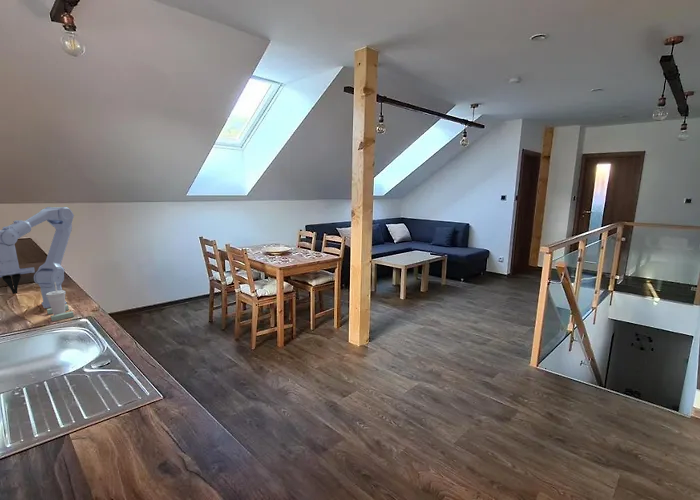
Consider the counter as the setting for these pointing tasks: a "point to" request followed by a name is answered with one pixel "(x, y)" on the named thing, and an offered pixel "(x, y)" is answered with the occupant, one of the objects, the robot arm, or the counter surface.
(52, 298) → the smoothie
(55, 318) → the slot
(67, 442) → the counter surface
